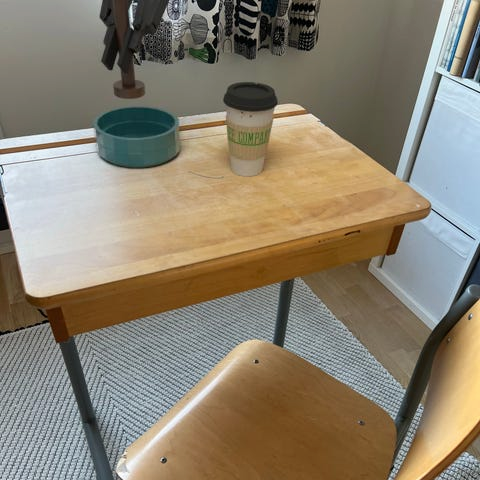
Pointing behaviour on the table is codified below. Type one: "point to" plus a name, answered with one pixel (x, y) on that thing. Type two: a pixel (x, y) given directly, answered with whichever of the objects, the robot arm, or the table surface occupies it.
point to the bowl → (137, 136)
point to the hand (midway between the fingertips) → (114, 67)
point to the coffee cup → (249, 125)
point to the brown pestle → (128, 84)
